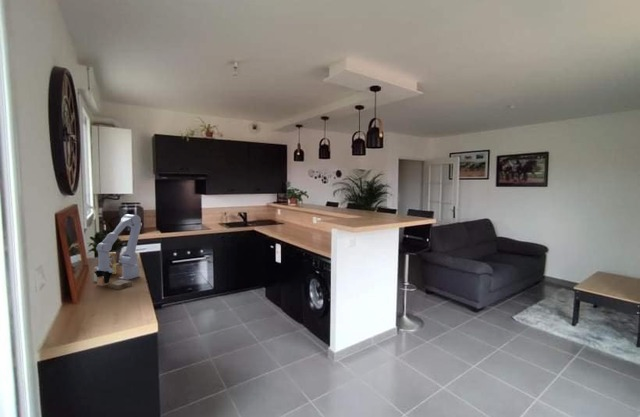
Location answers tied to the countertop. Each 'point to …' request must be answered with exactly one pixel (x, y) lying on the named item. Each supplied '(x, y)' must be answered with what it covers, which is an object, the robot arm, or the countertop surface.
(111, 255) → the candy box
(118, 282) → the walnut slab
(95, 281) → the sage cube
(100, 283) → the terracotta cube
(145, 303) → the countertop surface
